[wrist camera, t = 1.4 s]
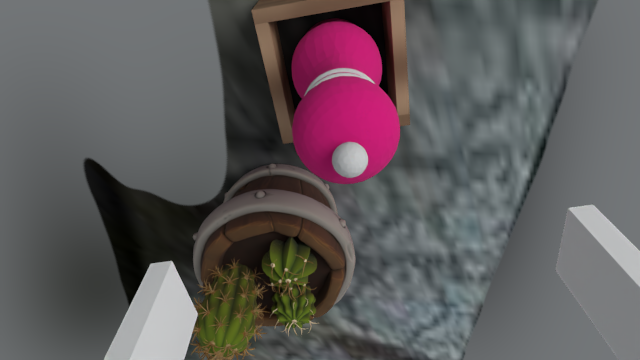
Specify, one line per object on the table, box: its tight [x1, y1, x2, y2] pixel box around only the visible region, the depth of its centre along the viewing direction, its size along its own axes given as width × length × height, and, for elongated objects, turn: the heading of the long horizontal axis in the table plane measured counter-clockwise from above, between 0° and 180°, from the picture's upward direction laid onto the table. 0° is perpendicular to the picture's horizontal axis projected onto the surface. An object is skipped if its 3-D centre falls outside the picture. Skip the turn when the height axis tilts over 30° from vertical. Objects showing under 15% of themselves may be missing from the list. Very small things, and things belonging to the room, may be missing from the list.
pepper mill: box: [291, 18, 400, 184], centre depth 28 cm, size 7×7×20 cm
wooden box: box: [251, 0, 410, 144], centre depth 34 cm, size 11×11×5 cm
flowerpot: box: [190, 164, 355, 360], centre depth 36 cm, size 14×15×20 cm
